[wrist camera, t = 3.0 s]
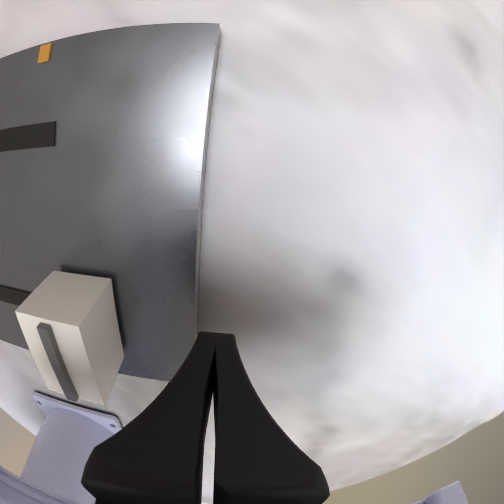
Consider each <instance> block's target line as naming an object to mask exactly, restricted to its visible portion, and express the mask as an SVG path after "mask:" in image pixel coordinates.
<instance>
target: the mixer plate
mask: <svg viewBox="0 0 504 504" xmlns="http://www.w3.org/2000/svg"><path fill="white" fill-rule="evenodd" d="M220 38H221V30H220V25H219V24H213V23H171V24H152V25H140V26H130V27H122V28H115V29H108V30H102V31H96V32H90V33H85V34H81V35H76V36H71V37H67V38H63V39H59V40H55V41H52V42H48V43H44V44H41V45H38V46H34V47H31V48H28V49H25V50H22V51H19V52H17V53H14V54H11V55H8V56H6V57H3V58H1V59H0V340H3V341H6V342H8V343H11V344H14V345H17V346H19V347H22V348H25V349H28V350H30V349H29V347H28V345H27V342H26V340H25V337H24V335H23V332H22V329H21V327H20V324H19V321H18V318H17V316H16V313H15V310H16V309H17V308H18V307H19V306H20V305H21V304H22V303H23V302H24V301H25V299H26V298H27V297H28V296H29V295H30V294H31V293H32V292H33V291H34V290H35V289H36V288H37V287H38V286H39V285H40V284H41V283H42V282H43V281H44V280H45V279H46V278H47V277H48V276H49V275H50V274H51V273H52V272H53V271H60V272H67V273H74V274H81V275H88V276H95V277H103V278H110V279H111V281H112V288H113V295H114V302H115V309H116V315H117V321H118V326H119V332H120V337H121V342H122V347H123V352H124V358H123V361H122V363H121V366H120V368H119V371H118V373H120V374H126V375H131V376H137V377H142V378H148V379H155V380H161V381H169V382H170V381H171V379H172V378H173V377H174V375H175V374H176V373H177V371H178V370H179V368H180V367H181V365H182V364H183V362H184V361H185V359H186V357H187V356H188V354H189V352H190V350H191V349H192V347H193V345H194V343H195V341H196V338H197V332H198V286H199V260H200V239H201V221H202V206H203V192H204V179H205V166H206V155H207V144H208V134H209V124H210V115H211V106H212V98H213V89H214V81H215V74H216V66H217V59H218V52H219V45H220Z"/></svg>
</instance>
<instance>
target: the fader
mask: <svg viewBox="0 0 504 504" xmlns="http://www.w3.org/2000/svg"><path fill="white" fill-rule="evenodd" d="M15 313H16V316H17V318H18V321H19V324H20V327H21V329H22V332H23V335H24V337H25V340H26V342H27V345H28V347H29V349H30V352H31V354H32V356H33V358H34V361H35V363H36V365H37V367H38V369H39V372H40V374H41V376H42V378H43V380H44V382H45V384H46V386H47V388H48V389H49V390H52V391H55V392H58V393H61V394H64V395H65V396H66V398H67V399H69V400H73V401H76V402H77V399H81V400H84V401H88V402H92V403H95V404H99V405H103V406H106V403H107V400H108V397H109V395H110V392H111V389H112V387H113V384H114V381H115V379H116V376H117V374H118V371H119V368H120V366H121V363H122V361H123V358H124V352H123V347H122V342H121V337H120V332H119V326H118V321H117V315H116V309H115V302H114V295H113V288H112V281H111V279H110V278H103V277H95V276H88V275H81V274H74V273H67V272H60V271H53V272H52V273H51V274H50V275H49V276H48V277H47V278H46V279H45V280H44V281H43V282H42V283H41V284H40V285H39V286H38V287H37V288H36V289H35V290H34V291H33V292H32V293H31V294H30V295H29V296H28V297H27V298H26V299H25V301H24V302H23V303H22V304H21V305H20V306H19V307H18V308H17V309H16V310H15Z"/></svg>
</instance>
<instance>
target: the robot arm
mask: <svg viewBox="0 0 504 504" xmlns="http://www.w3.org/2000/svg"><path fill="white" fill-rule="evenodd" d="M212 394H213V398H214V421H215V466H214V493H213V504H322V503H323V502H324V501H325V500H326V499H327V498H328V497H329V495H330V493H329V487H328V484H327V481H326V478H325V476H324V474H323V472H322V469H321V467H320V466H319V465H317V464H316V463H315V462H314V461H313V460H311V459H310V458H309V457H308V456H307V455H306V454H305V453H304V452H303V451H301V450H300V449H299V448H298V447H297V446H296V445H295V444H294V442H293V441H292V440H291V439H290V438H289V437H288V436H287V435H286V434H285V432H284V431H283V430H282V429H281V428H280V427H279V425H278V424H277V423H276V422H275V420H274V419H273V418H272V416H271V415H270V414H269V412H268V411H267V409H266V408H265V406H264V405H263V403H262V402H261V400H260V398H259V397H258V395H257V393H256V391H255V389H254V387H253V386H252V384H251V382H250V380H249V378H248V375H247V373H246V371H245V368H244V366H243V364H242V361H241V358H240V355H239V352H238V349H237V345H236V340H235V336H234V335H233V334H224V333H212V332H202V331H201V332H200V333H198V336H197V338H196V341H195V343H194V345H193V347H192V349H191V350H190V352H189V354H188V356H187V357H186V359H185V361H184V362H183V364H182V365H181V367H180V368H179V370H178V371H177V373H176V374H175V375H174V377H173V378H172V379H171V381H170V382H169V383H168V385H167V386H166V387H165V388H164V390H163V391H162V392H161V393H160V394H159V395H158V396H157V398H156V399H155V400H154V401H153V402H152V403H151V404H150V405H149V406H148V407H147V408H146V409H145V410H144V411H143V412H142V413H140V414H139V415H138V416H137V417H136V418H135V419H134V420H132V421H131V422H130V423H129V424H127V425H126V426H125V427H124V428H122V427H121V425H120V423H119V420H118V419H117V418H116V417H115V416H112V415H108V414H104V413H100V412H97V411H93V410H89V409H86V408H82V407H79V406H75V405H72V404H69V403H66V402H63V401H59V400H56V399H54V398H51V397H48V396H45V395H42V394H40V393H37V392H34V393H33V395H32V397H33V399H34V400H35V402H36V404H37V405H38V407H39V409H40V410H41V412H42V413H43V415H44V416H45V419H44V421H43V423H42V425H41V427H40V430H39V432H38V434H37V437H36V439H35V441H34V444H33V446H32V448H31V451H30V454H29V456H28V458H27V461H26V464H25V466H24V469H23V472H22V474H21V477H19V476H17V475H15V474H13V473H12V472H10V471H8V470H6V469H5V468H3V467H1V466H0V504H201V496H202V474H203V455H204V442H205V434H206V428H207V423H208V417H209V411H210V406H211V400H212ZM412 504H468V502H467V499H466V496H465V494H464V491H463V489H462V486H461V484H460V482H459V481H456V482H454V483H452V484H450V485H448V486H446V487H443V488H441V489H439V490H437V491H435V492H433V493H432V494H430V495H428V496H427V497H426V498H425V499H423V500H420V501H418V502H415V503H412Z"/></svg>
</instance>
